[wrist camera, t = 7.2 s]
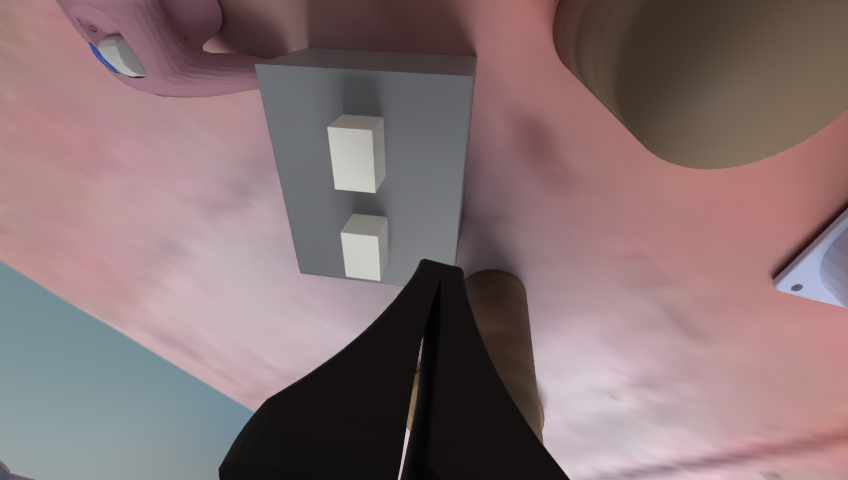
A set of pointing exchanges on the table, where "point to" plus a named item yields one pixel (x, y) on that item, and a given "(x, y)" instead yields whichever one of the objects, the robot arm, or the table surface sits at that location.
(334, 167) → the block
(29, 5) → the table surface
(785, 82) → the walnut post
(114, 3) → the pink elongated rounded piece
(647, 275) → the table surface
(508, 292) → the walnut post
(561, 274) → the table surface
